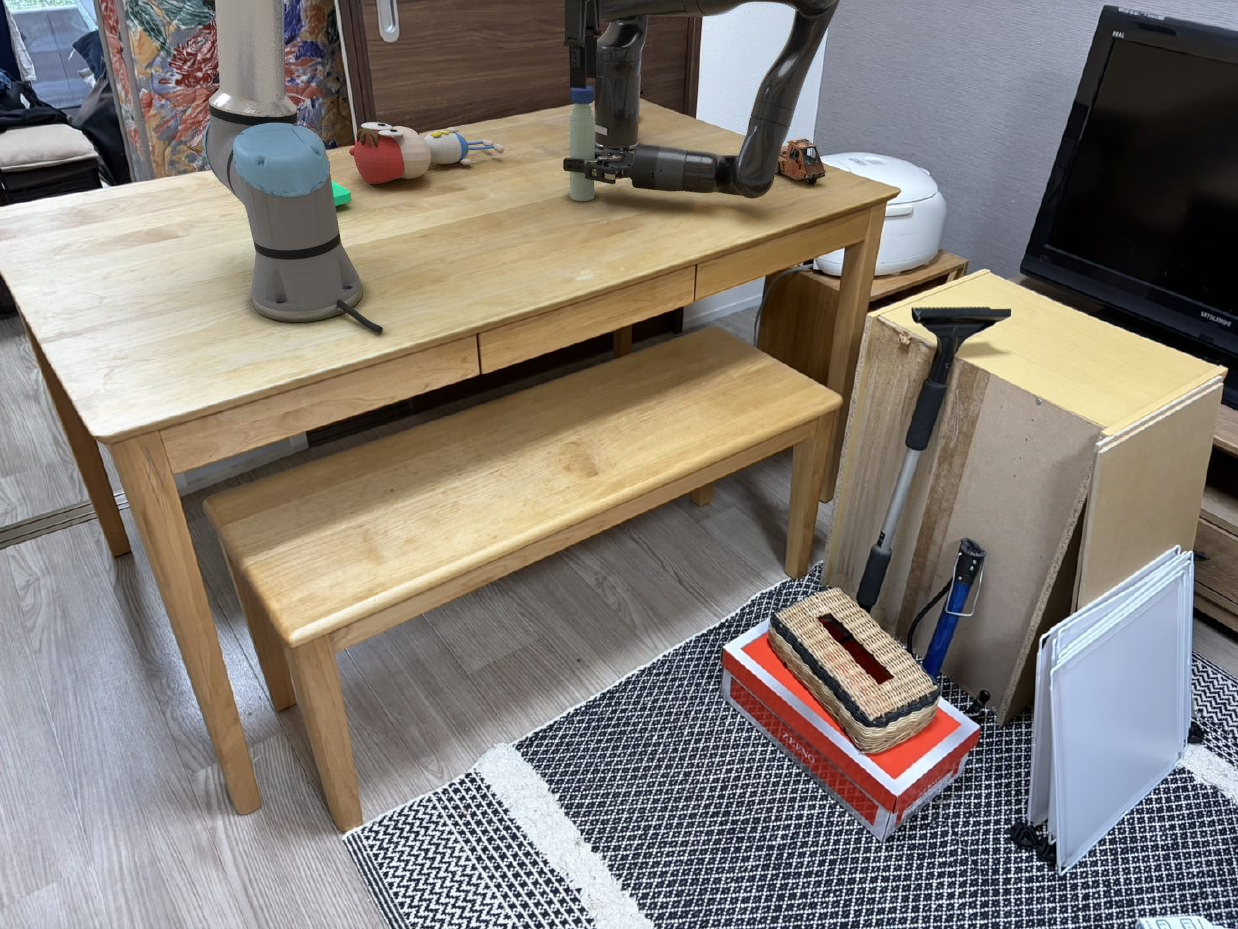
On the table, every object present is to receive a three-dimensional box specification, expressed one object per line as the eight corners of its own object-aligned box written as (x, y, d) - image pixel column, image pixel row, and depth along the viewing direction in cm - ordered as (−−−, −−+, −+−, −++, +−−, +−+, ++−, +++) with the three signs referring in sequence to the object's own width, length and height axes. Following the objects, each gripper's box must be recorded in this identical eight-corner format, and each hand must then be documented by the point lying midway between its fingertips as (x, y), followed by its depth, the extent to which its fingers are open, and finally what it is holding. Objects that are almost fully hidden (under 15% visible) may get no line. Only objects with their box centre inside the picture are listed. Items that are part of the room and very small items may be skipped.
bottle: (598, 194, 171) (599, 89, 159) (588, 202, 167) (588, 95, 156) (576, 190, 172) (576, 85, 161) (565, 198, 169) (564, 91, 157)
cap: (597, 99, 160) (597, 86, 159) (587, 105, 157) (587, 92, 156) (576, 96, 162) (576, 83, 160) (567, 102, 159) (566, 89, 157)
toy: (520, 129, 175) (365, 133, 160) (519, 183, 180) (369, 192, 165) (478, 113, 188) (332, 115, 173) (478, 164, 193) (336, 170, 178)
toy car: (784, 164, 186) (788, 129, 182) (830, 182, 178) (836, 146, 174) (762, 170, 183) (766, 135, 178) (807, 189, 175) (813, 152, 171)
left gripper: (576, -83, 152) (578, 66, 166) (540, -66, 137) (545, 95, 151) (621, -80, 150) (618, 69, 164) (589, -64, 136) (589, 99, 150)
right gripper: (668, 134, 167) (576, 126, 169) (655, 160, 156) (556, 151, 158) (666, 175, 171) (576, 167, 174) (652, 203, 160) (557, 193, 163)
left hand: (583, 81), depth 158 cm, fingers open, 6 cm apart
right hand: (567, 159), depth 166 cm, fingers closed on bottle, 4 cm apart
